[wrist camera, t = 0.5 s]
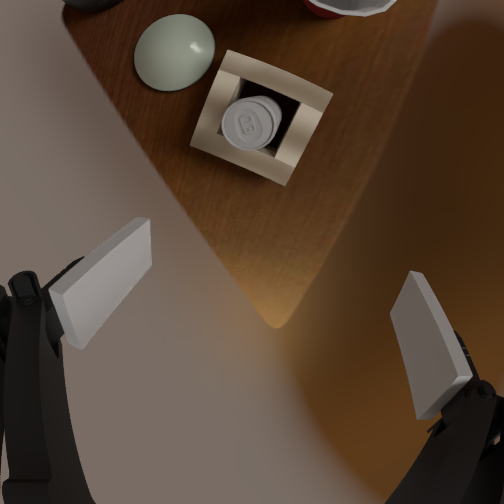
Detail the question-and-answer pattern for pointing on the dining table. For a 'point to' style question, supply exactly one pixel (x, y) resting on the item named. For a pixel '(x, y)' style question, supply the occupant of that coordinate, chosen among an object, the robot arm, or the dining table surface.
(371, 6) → the plastic cup
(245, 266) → the dining table surface
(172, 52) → the pale green cabochon
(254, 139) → the beverage can
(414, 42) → the dining table surface
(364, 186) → the dining table surface
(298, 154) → the birch sleeve
